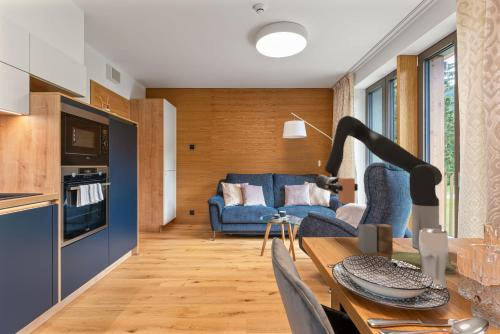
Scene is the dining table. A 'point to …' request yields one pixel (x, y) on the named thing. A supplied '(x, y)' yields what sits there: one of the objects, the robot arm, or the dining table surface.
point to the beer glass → (433, 253)
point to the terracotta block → (346, 190)
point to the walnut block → (384, 238)
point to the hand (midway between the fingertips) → (348, 188)
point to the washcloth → (415, 260)
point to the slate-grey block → (367, 238)
